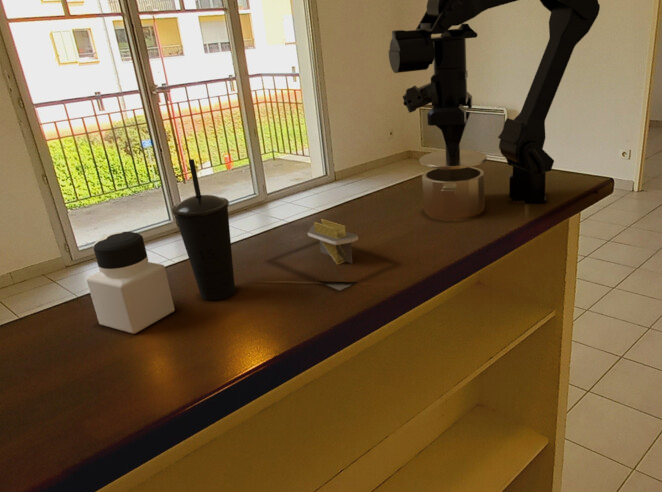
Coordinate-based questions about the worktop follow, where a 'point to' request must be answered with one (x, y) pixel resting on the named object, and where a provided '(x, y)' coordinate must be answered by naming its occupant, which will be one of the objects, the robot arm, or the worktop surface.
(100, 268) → the medicine bottle
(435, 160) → the lid
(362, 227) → the worktop surface
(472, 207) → the pot
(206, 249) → the drinking cup
